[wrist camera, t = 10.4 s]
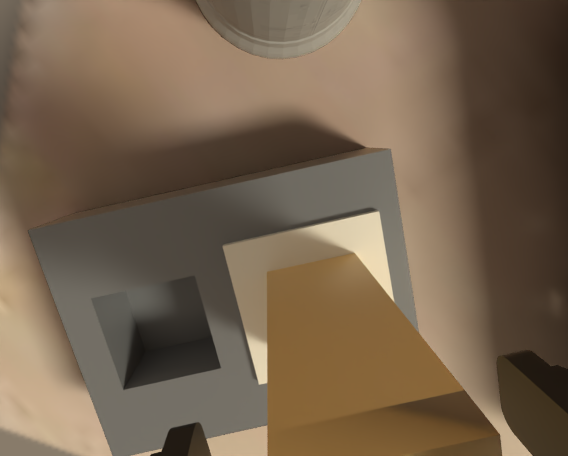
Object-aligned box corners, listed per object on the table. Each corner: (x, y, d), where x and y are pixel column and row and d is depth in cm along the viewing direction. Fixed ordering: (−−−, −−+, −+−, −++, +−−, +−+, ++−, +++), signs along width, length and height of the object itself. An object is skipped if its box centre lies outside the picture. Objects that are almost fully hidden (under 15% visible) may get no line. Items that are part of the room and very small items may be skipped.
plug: (266, 271, 17) (267, 484, 7) (354, 252, 17) (499, 434, 7) (285, 351, 18) (312, 653, 7) (369, 333, 18) (517, 609, 7)
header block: (72, 213, 21) (23, 232, 16) (367, 147, 21) (392, 148, 16) (139, 405, 23) (111, 463, 19) (400, 348, 23) (430, 393, 19)
